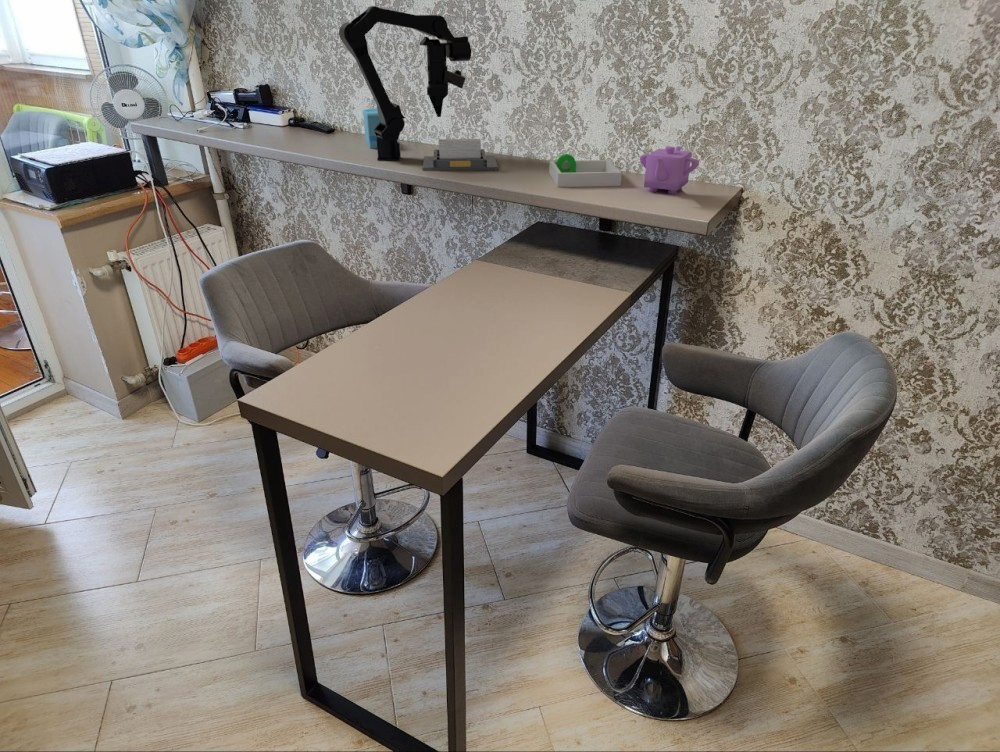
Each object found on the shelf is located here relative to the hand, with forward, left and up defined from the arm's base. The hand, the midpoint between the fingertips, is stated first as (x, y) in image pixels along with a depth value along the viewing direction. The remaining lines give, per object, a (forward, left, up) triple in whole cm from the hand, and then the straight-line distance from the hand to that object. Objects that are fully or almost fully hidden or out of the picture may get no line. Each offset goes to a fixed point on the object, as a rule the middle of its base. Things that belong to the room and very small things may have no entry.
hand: (439, 116), depth 214 cm
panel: (+6, -19, -11) cm, 23 cm away
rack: (+6, -14, -12) cm, 19 cm away
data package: (-22, +16, -12) cm, 30 cm away
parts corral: (+40, -36, -12) cm, 55 cm away
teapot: (+59, -50, -12) cm, 78 cm away
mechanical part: (+33, -28, -15) cm, 45 cm away
